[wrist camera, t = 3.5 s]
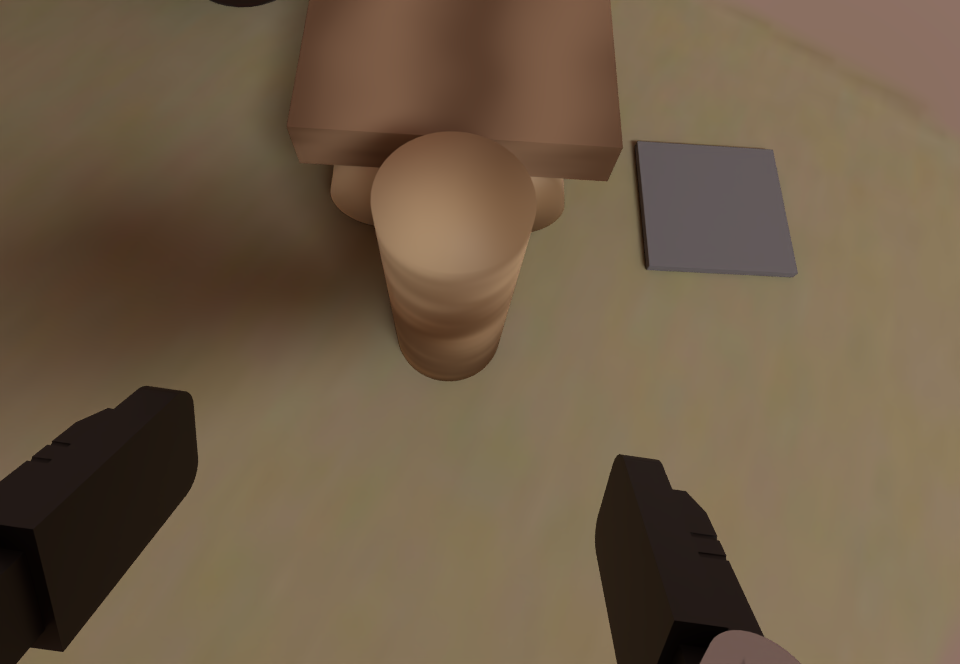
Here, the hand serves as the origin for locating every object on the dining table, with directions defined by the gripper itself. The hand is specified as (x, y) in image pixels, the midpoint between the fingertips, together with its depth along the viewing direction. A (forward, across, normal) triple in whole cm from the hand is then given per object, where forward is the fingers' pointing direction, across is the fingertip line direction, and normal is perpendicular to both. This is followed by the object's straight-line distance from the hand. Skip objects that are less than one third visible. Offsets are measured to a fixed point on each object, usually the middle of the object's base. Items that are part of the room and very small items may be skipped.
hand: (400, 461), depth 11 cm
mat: (+19, -12, -3) cm, 23 cm away
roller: (+13, 0, +3) cm, 14 cm away
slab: (+20, +1, -4) cm, 21 cm away
